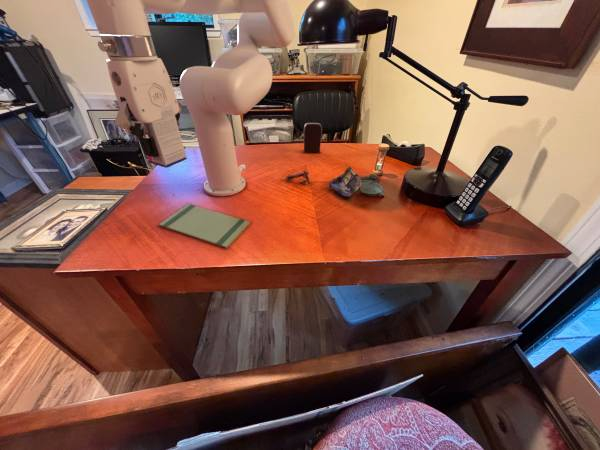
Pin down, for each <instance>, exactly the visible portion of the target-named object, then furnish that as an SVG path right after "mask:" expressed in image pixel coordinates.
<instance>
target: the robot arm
mask: <svg viewBox="0 0 600 450" xmlns="http://www.w3.org/2000/svg"><path fill="white" fill-rule="evenodd" d="M85 1H86V3H87V6H88V8H89V11H90V14H91V17H92V18H93V22H94V24H95V27H96V29H97V32H98V34H99V37H100V39H101V40H98V41H97V46H98V48H99V50H100V51H101V52H103V53H105V52H106V55H107V57H108V59H106V65H107V70H108V75H109V78H110V82H111V85H112V88H113V92H114V95H115V98H116V101H117V103H118V106H119V109H118V111H117V114H116V117H115V120H114V123H115V125H116V126H118V127H119V128H122V129H123V130H125V131H126V132H128V133H129V134H131V135H133V136H134V137H135V138H138V139H137V140H138V141H139V144H140V147H141V149H142V151H143V153H144V155H145V156H151V157H158V156H159V153H158V150H157V148H156V145H155V142H154V139H153V137H149V125H148V124H149V123H152V122H155V121H157V120H159V119H162V116H161V109H162V108H163V107H166V106H169V105H172V107H173V111H174V114H175V118H176V121H177V125H178V128H179V127H180V122H179V120H180V117H181V112H182V109H183V104H181V102H179V100H178V99H177V98H178V97H177V96H176V92H175V89H174V86H173V83H172V81H171V77H170V76H169V72H168V71H167V68H166V66H165V64H164V62H163V60H162V58H160V57H158V55H157V51H156V47H155V44H154V41H153V37H152V34H151V31H150V26H149V23H148V20H147V16H146V15H172V14H187V15H188V14H189V15H195V16H196V15H197V16H198V15H199V16H205V15H211V16H212V15H213V16H214V15H226V14H228V15H229V14H241V15H240V16H239V18H238V21H237V26H236V27H237V28H236V31H237V38H236V39H237V41H236V42H237V43H236V45H234V46H233V47H232V48H230V49H228V50H226V51H225V52H223V53H221V54H220V55H218V56H217V57H216V58H215V59H214V61H213V63H212V65H211V66H206V65H205V66H204V65H194V66H190V67H187V68H186V69H185V70H183V72H182V74H181V75H180V78H179V90H180V95H181V97H182V99H183V102H184V104H185V106H186V109H187V110H188V113H189V115H190V118H191V121H192V124H193V128H194V131H195V132H194V133H195V135H196V139H197V143H198V147H199V151H200V155H201V158H202V163H203V167H204V171H205V175H206V179H207V180H205V182H204V184H203V190H204V192H205V193H207V194H208V195H211V196H213V197H214V196H215V197H227V196H232V195H233V196H234V195H235V194H238V193H240V192H241V191H243V190H244V189H245V187H246V185H247V184H246V180H245V178H244V177H243V176H242V175H241V174H242V173H243V172H244V171H246V170H247V166H246V165H245V164H244V163H242V164H240V165H238V164H239V163H238V159H237V151H236V143H235V139H234V132H233V127H232V123H231V121H230V120H229V119H230V118H228V116H227V115H229V116H242V115H245V114H247V113H248V112H249V111H251V110H252V109H253V108H254V107H255V106H256V105H257V104H259V103H260V101H261V100H262V99H264V98H265V97H266V95H267V94H268V93H269V92H270V89H271V87H272V84H273V76H274V75H273V74H274V73H273V67H272V65H271V61H270V60H269V59H268V57H266V56H265V55H264V54H262V53H261V52H260V51H259V47H262V48H263V47H265V48H287V47H288V46H290V45H291V43H292V42H293V40H294V35H295V24H294V17H293V15H292V12H291V10H290V7H289V4H288V2H287V0H85ZM131 122H132V123H131ZM140 124H142V130H141V127H140Z"/></svg>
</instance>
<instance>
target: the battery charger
mask: <svg viewBox="0 0 600 450" xmlns="http://www.w3.org/2000/svg"><path fill="white" fill-rule="evenodd" d="M322 135H323V126H322V124H321V123H320V122H314V121H308V122H306V123H305V124H304V126H303V152H304V153H306V154H320V153H321V145H322Z"/></svg>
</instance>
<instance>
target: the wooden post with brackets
mask: <svg viewBox="0 0 600 450" xmlns="http://www.w3.org/2000/svg"><path fill="white" fill-rule="evenodd" d="M309 174H310V172H309V171H307V170H303V172H299V173H296V174H292V175H291V174H290V173H289V174H287V175H286V176H285V178H286V180H287V182H290V181H291V180H293V179H298V178H301V177H303V178H304V179H302V180H300V181H299V184H301V185H302V184H306V183H307V184H308V185H311V179H310V177H309V176H308V175H309Z"/></svg>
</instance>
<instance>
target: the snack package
mask: <svg viewBox="0 0 600 450" xmlns="http://www.w3.org/2000/svg"><path fill="white" fill-rule="evenodd" d="M361 181H362V178H361V177H360V176H359V174H358V173H356V172H354V170H353V168H352V167H351V166H348V167H347V168H346V169H345V171H344V172H343V173H342V174H340V175H338V176H337V177H335V178H333V179H332V180H331V181H329V182H328V188H329V189H333V190H335V191H336V193H337V194H338V195H339V196H341V197H343V198H346V199H349V200H350V199H352V197H353V195H354V194H355V192H357V191H358V190H360V189H359V187H360V186H361V187H362V184H363V181H362V182H361Z"/></svg>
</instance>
